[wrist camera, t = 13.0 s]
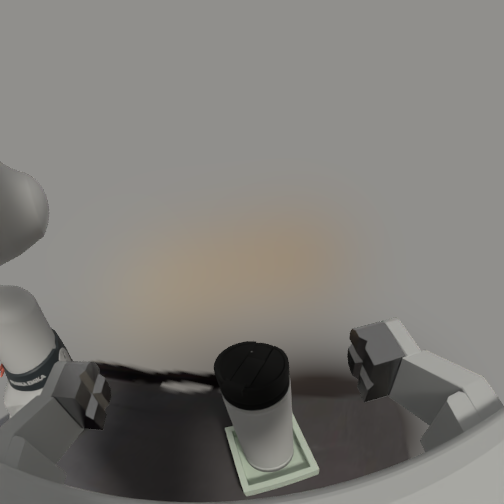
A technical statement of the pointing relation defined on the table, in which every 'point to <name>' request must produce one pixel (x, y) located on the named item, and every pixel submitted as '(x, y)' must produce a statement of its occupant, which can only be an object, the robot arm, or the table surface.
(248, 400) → the travel mug
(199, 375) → the table surface
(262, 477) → the tray
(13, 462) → the robot arm
